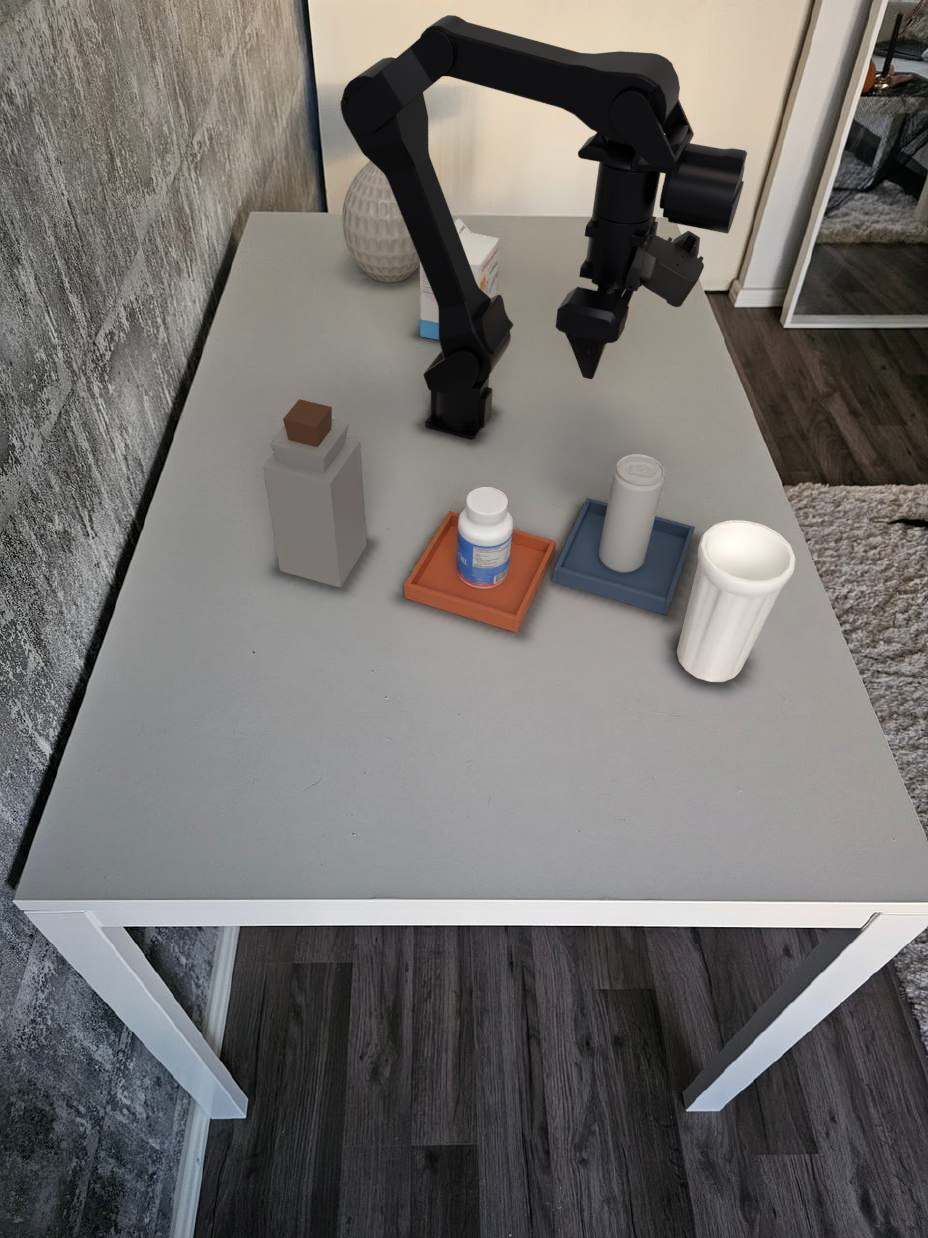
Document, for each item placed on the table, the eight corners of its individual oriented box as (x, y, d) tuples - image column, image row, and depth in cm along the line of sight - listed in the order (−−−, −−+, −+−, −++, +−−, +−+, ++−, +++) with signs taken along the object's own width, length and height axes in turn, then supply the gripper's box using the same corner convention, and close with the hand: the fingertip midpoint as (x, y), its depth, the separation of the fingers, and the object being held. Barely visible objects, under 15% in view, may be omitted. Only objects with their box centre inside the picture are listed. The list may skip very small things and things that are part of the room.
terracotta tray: (404, 597, 91) (404, 584, 90) (449, 523, 99) (449, 510, 97) (517, 633, 88) (518, 620, 87) (554, 554, 96) (556, 540, 94)
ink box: (477, 348, 122) (481, 252, 112) (418, 336, 124) (418, 240, 114) (496, 317, 128) (502, 223, 118) (440, 306, 129) (441, 212, 119)
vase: (344, 253, 139) (337, 137, 127) (428, 251, 140) (428, 136, 128) (346, 295, 130) (338, 175, 118) (435, 293, 132) (437, 174, 119)
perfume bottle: (366, 544, 96) (357, 400, 83) (340, 587, 92) (326, 442, 78) (308, 529, 97) (290, 384, 84) (279, 570, 93) (255, 425, 80)
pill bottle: (454, 554, 95) (456, 481, 88) (505, 552, 95) (511, 479, 88) (458, 592, 91) (461, 519, 84) (511, 590, 92) (518, 517, 84)
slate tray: (552, 581, 93) (554, 568, 92) (584, 510, 101) (587, 497, 99) (666, 615, 90) (670, 602, 89) (691, 539, 98) (695, 526, 97)
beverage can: (642, 579, 93) (664, 488, 84) (595, 571, 94) (613, 480, 85) (645, 547, 96) (667, 456, 87) (599, 540, 97) (617, 449, 88)
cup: (733, 706, 83) (778, 599, 72) (652, 668, 86) (684, 560, 75) (763, 649, 88) (809, 541, 77) (685, 615, 91) (720, 506, 80)
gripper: (686, 271, 79) (652, 420, 90) (724, 188, 91) (691, 330, 102) (563, 245, 81) (546, 394, 93) (616, 168, 93) (595, 309, 105)
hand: (599, 355), depth 98 cm, fingers open, 9 cm apart
